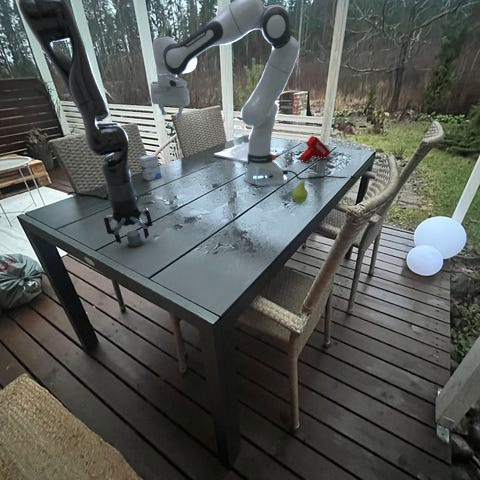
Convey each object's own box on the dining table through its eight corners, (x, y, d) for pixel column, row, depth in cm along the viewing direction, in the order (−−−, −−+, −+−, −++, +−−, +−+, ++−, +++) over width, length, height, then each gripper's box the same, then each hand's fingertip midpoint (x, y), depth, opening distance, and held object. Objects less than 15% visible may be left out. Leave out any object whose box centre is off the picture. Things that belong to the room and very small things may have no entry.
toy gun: (301, 158, 166) (316, 136, 163) (297, 156, 169) (311, 135, 166) (317, 172, 178) (330, 152, 175) (312, 170, 181) (326, 150, 178)
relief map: (256, 164, 167) (256, 156, 164) (213, 155, 185) (213, 147, 182) (278, 154, 185) (279, 147, 183) (238, 147, 203) (237, 140, 200)
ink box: (157, 175, 153) (153, 153, 146) (161, 177, 150) (158, 155, 143) (143, 178, 148) (138, 157, 141) (147, 181, 145) (143, 158, 138)
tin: (126, 244, 94) (124, 233, 91) (137, 239, 96) (134, 228, 94) (133, 248, 91) (130, 237, 89) (144, 243, 94) (141, 232, 92)
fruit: (288, 200, 123) (290, 174, 116) (302, 197, 125) (305, 172, 119) (296, 206, 118) (299, 179, 111) (310, 203, 120) (314, 177, 114)
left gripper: (96, 204, 79) (111, 250, 87) (147, 196, 83) (156, 240, 92) (97, 195, 85) (110, 239, 93) (144, 187, 89) (153, 230, 98)
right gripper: (145, 81, 123) (150, 115, 130) (180, 82, 114) (184, 118, 122) (155, 81, 127) (160, 113, 135) (189, 81, 119) (193, 116, 126)
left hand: (133, 239), depth 93 cm, fingers open, 8 cm apart
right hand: (171, 115), depth 128 cm, fingers open, 8 cm apart
